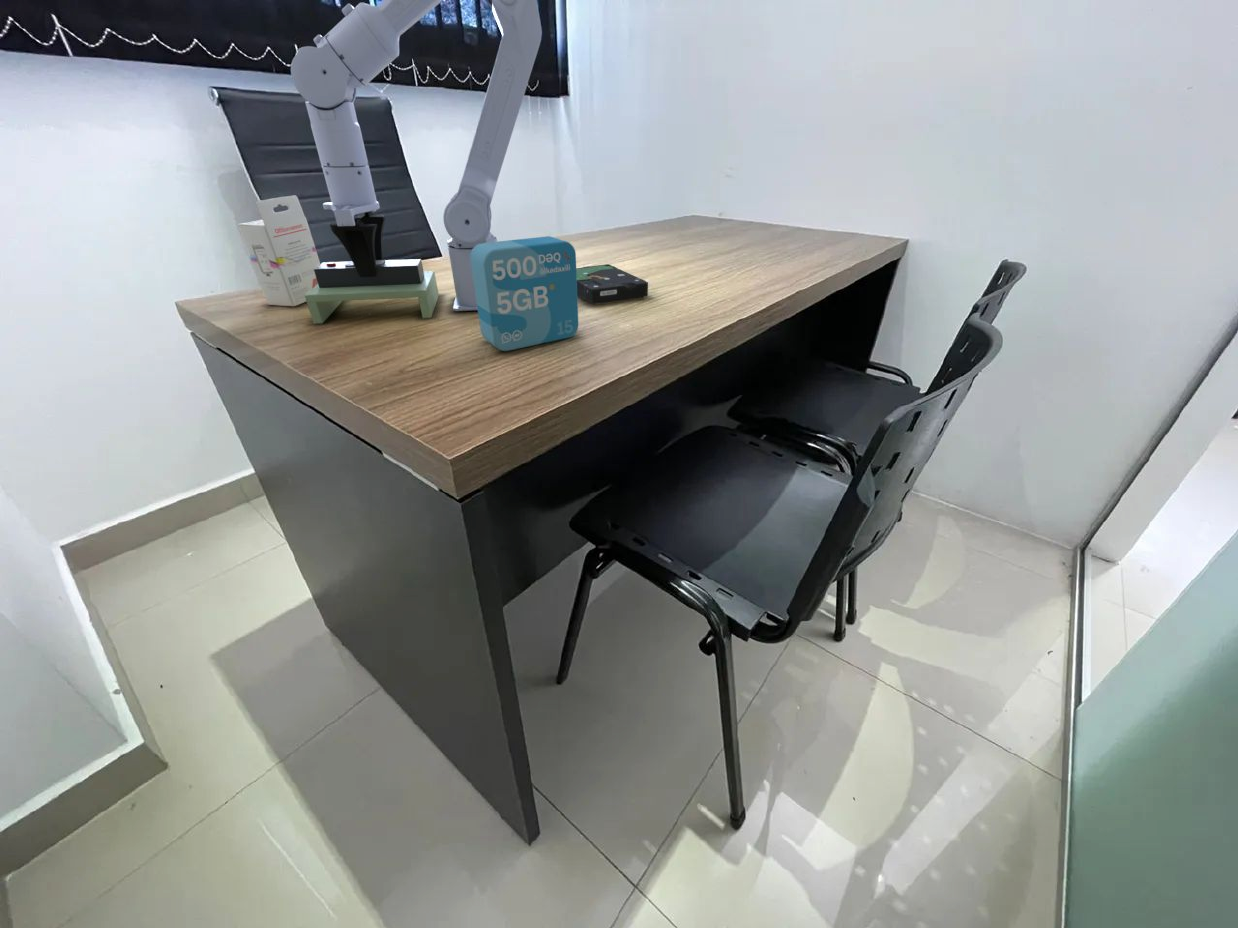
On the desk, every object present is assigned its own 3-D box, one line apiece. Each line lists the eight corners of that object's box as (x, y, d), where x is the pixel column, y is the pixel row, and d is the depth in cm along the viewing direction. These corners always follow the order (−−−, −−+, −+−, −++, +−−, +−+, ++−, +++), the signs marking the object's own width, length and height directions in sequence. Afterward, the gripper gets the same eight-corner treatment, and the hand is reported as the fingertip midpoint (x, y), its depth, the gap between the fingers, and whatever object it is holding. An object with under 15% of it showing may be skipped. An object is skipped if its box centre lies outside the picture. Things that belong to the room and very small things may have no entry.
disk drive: (649, 299, 84) (608, 278, 95) (650, 282, 83) (608, 262, 94) (592, 307, 80) (556, 284, 91) (592, 289, 79) (555, 268, 89)
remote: (424, 276, 79) (420, 257, 78) (421, 283, 76) (416, 263, 74) (327, 280, 77) (321, 260, 75) (319, 288, 73) (312, 267, 72)
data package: (495, 354, 63) (482, 250, 56) (481, 343, 66) (467, 244, 60) (579, 336, 69) (576, 240, 62) (563, 327, 72) (558, 234, 65)
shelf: (438, 295, 85) (434, 270, 83) (431, 317, 75) (425, 290, 73) (335, 300, 82) (328, 274, 80) (313, 324, 72) (304, 295, 70)
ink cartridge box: (304, 291, 87) (272, 193, 79) (330, 293, 86) (300, 194, 78) (265, 305, 80) (226, 200, 72) (293, 307, 79) (256, 201, 71)
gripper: (328, 163, 73) (354, 262, 81) (295, 170, 62) (329, 285, 69) (380, 163, 75) (401, 261, 82) (357, 169, 63) (384, 283, 70)
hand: (371, 272), depth 76 cm, fingers closed on remote, 4 cm apart
